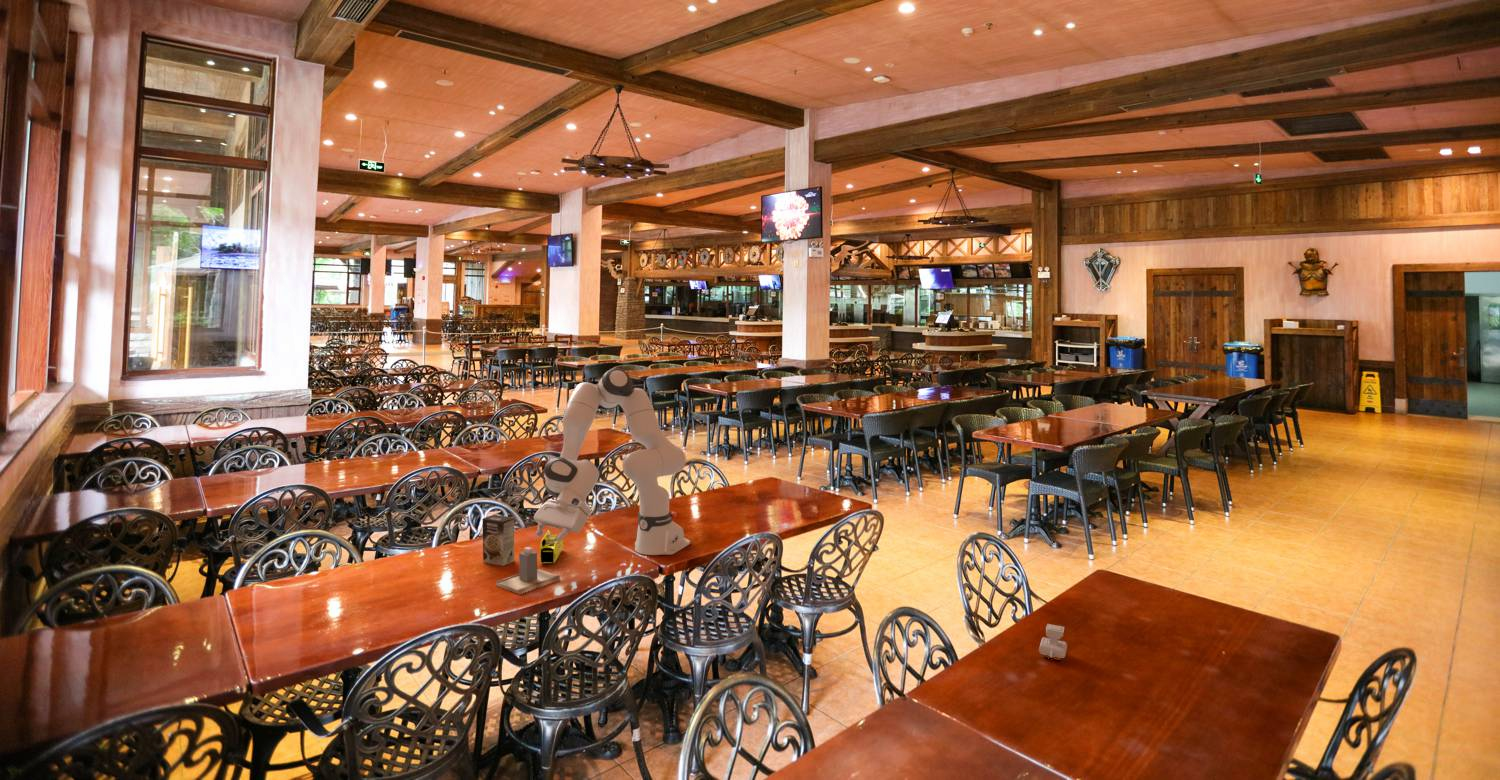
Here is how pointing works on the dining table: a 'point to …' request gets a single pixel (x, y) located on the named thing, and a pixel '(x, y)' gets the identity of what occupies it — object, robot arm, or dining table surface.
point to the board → (521, 587)
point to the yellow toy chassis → (550, 548)
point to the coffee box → (498, 540)
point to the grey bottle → (528, 565)
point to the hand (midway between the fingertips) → (547, 538)
